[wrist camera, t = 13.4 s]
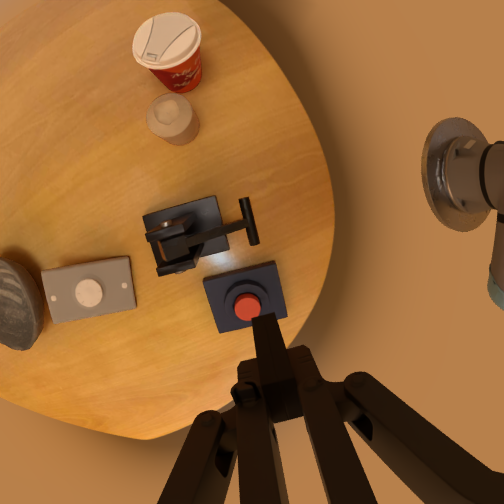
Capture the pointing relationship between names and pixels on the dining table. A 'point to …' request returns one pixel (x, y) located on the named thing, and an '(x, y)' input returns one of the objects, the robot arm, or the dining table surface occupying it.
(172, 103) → the candle
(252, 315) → the power button
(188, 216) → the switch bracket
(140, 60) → the paper cup
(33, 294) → the bowl
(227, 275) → the control block
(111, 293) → the light switch
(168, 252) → the switch lever
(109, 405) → the dining table surface
